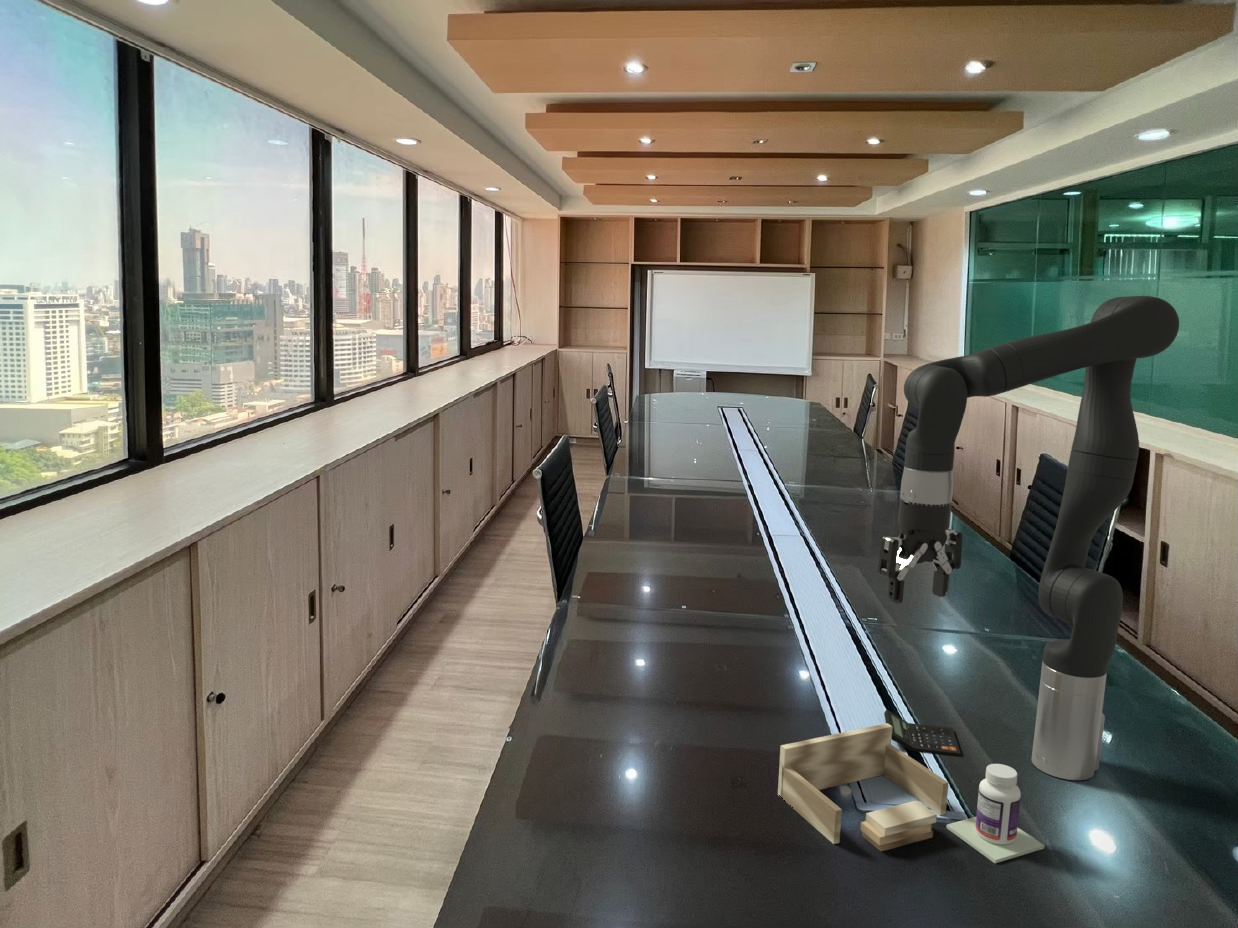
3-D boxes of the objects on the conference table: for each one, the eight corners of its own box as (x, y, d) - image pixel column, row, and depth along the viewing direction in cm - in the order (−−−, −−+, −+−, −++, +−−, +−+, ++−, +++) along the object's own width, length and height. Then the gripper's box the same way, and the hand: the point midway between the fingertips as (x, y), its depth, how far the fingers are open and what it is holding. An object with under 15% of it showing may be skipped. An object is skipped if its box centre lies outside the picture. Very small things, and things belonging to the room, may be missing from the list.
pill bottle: (1005, 823, 132) (1012, 760, 130) (1023, 845, 127) (1030, 780, 125) (968, 823, 132) (974, 760, 130) (984, 846, 126) (991, 780, 125)
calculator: (960, 758, 152) (961, 741, 152) (887, 749, 154) (888, 733, 154) (951, 732, 161) (953, 716, 161) (883, 724, 164) (884, 709, 163)
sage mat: (993, 814, 135) (994, 811, 135) (1044, 848, 127) (1044, 845, 127) (946, 827, 131) (946, 824, 131) (995, 863, 123) (995, 860, 123)
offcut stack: (915, 823, 133) (916, 800, 132) (934, 838, 129) (936, 814, 129) (859, 837, 129) (861, 814, 128) (878, 853, 125) (880, 829, 125)
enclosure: (883, 769, 147) (887, 723, 146) (945, 814, 135) (950, 763, 133) (777, 794, 139) (780, 745, 138) (833, 844, 127) (837, 790, 125)
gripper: (944, 489, 147) (935, 586, 150) (872, 495, 141) (865, 596, 144) (979, 499, 140) (970, 600, 143) (905, 505, 135) (897, 611, 137)
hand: (917, 598), depth 144 cm, fingers open, 8 cm apart
